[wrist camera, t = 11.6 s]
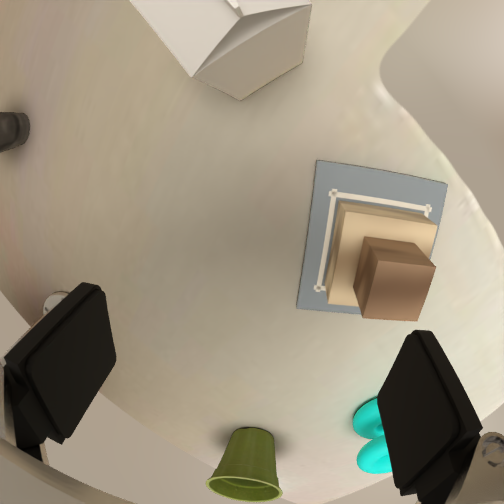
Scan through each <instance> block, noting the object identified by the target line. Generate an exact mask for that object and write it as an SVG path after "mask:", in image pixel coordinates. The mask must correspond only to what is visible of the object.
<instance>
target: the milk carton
mask: <svg viewBox="0 0 504 504" xmlns="http://www.w3.org/2000/svg"><path fill="white" fill-rule="evenodd" d="M129 1H130V2H131V3H132V4H133V6H134V7H135V8H136V9H137V10H138V12H139V13H140V14H141V15H142V16H143V18H144V19H145V20H146V21H147V23H148V24H149V25H150V26H151V27H152V29H153V30H154V31H155V32H156V34H157V35H158V36H159V37H160V39H161V40H162V41H163V43H164V44H165V45H166V46H167V48H168V49H169V50H170V51H171V53H172V54H173V55H174V57H175V58H176V59H177V60H178V62H179V63H180V64H181V66H182V67H183V68H184V70H185V71H186V72H187V73H188V74H189V76H190V77H192V78H194V79H197V80H199V81H201V82H203V83H205V84H207V85H210V86H212V87H214V88H216V89H218V90H220V91H222V92H224V93H226V94H228V95H230V96H232V97H234V98H236V99H238V100H240V101H241V100H243V99H244V98H246V97H247V96H249V95H250V94H252V93H253V92H255V91H256V90H258V89H260V88H261V87H263V86H264V85H266V84H267V83H269V82H271V81H272V80H274V79H276V78H277V77H279V76H281V75H282V74H284V73H286V72H287V71H289V70H291V69H293V68H294V67H296V66H298V65H300V64H301V63H302V62H303V57H304V51H305V45H306V39H307V33H308V27H309V21H310V15H311V8H312V4H311V2H310V1H309V0H129Z"/></svg>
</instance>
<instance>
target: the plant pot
mask: <svg viewBox="0 0 504 504" xmlns="http://www.w3.org/2000/svg"><path fill="white" fill-rule="evenodd" d="M206 486H207V487H208V488H209V489H210V490H212V491H213V492H214V493H216V494H218V495H221V496H224V497H227V498H230V499H233V500H238V501H245V502H266V501H272V500H275V499H278V498H279V497H281V496H282V494H283V493H282V490H281V489H280V488H279V482H278V478H277V473H276V460H275V447H274V438H273V437H272V436H271V434H270V433H268V432H266V431H264V430H261V429H257V428H248V429H238V430H236V431H235V432H234V433H233V435H232V437H231V439H230V441H229V444H228V446H227V448H226V450H225V452H224V455H223V457H222V459H221V461H220V463H219V465H218V467H217V469H216V470H215V471H214V473H213V475H212V477H211V478H209V479H208V480H207V481H206Z"/></svg>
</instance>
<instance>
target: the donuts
mask: <svg viewBox="0 0 504 504" xmlns="http://www.w3.org/2000/svg"><path fill="white" fill-rule="evenodd" d="M353 428H354V430H355V432H356V433H357V434H358V435H360V436H361V437H364V438H367V439H373V440H371V441H369V442H368V443H367V444H366V445H364V446H363V447H362V449H361V450H360V451H359V453H358V455H357V464H358V467H359V468H360V469H361V470H363V471H365V472H367V473H372V474H381V473H388V472H392V468H391V463H390V458H389V453H388V448H387V444H386V439H385V435H384V430H383V426H382V422H381V418H380V413H379V409H378V405H377V398H376V399H374V400H372V401H370V402H368V403H366V404H365V405H363V406H362V407H361V408H360V409H359V410H358V411H357V412H356V414H355V416H354V418H353Z"/></svg>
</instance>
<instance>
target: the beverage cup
mask: <svg viewBox="0 0 504 504" xmlns="http://www.w3.org/2000/svg"><path fill="white" fill-rule="evenodd" d="M29 130H30V123H29V119H28V117H27V116H26V115H25V114H24V113H14V112H0V153H1V152H3V151H6V150H9V149H12V148H15V147H16V146H19V145H22V144H23V143H25V141H26V140H27V138H28V135H29Z"/></svg>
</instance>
